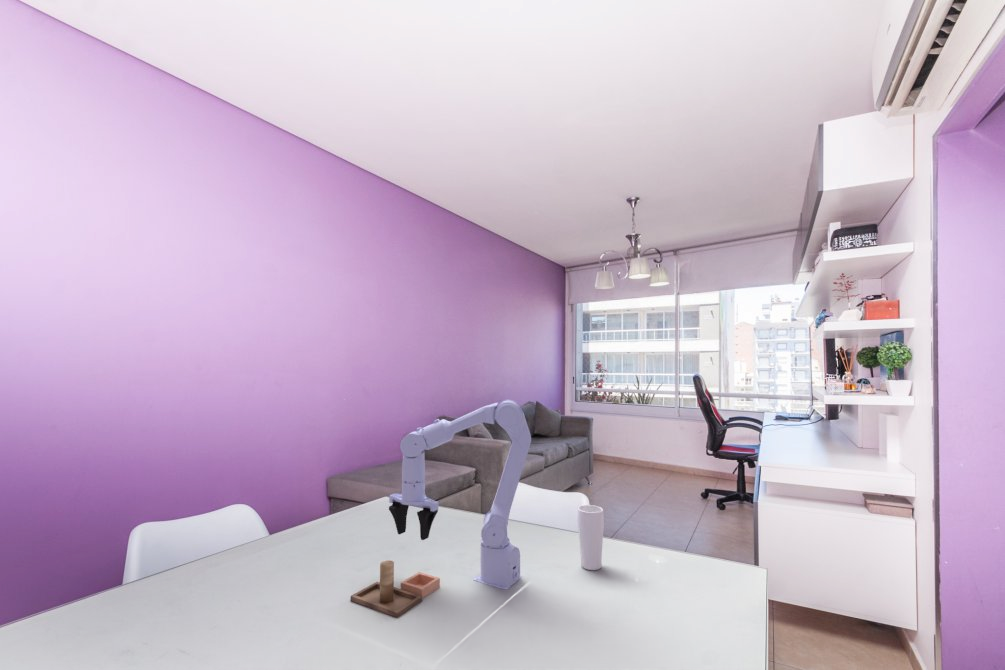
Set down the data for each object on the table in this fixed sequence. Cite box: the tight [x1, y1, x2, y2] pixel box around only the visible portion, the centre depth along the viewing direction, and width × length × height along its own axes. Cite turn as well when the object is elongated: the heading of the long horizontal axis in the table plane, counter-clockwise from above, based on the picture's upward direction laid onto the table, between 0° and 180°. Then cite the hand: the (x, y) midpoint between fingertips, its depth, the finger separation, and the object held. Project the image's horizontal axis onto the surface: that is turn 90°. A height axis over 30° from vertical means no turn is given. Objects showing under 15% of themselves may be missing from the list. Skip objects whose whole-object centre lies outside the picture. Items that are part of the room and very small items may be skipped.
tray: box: [350, 581, 423, 619], centre depth 104 cm, size 14×8×2 cm, turn 59°
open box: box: [400, 572, 441, 599], centre depth 109 cm, size 6×6×2 cm
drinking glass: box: [577, 504, 605, 571], centre depth 122 cm, size 7×7×15 cm
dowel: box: [379, 559, 395, 604], centre depth 104 cm, size 3×3×8 cm
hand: (412, 535), depth 116 cm, fingers open, 7 cm apart
